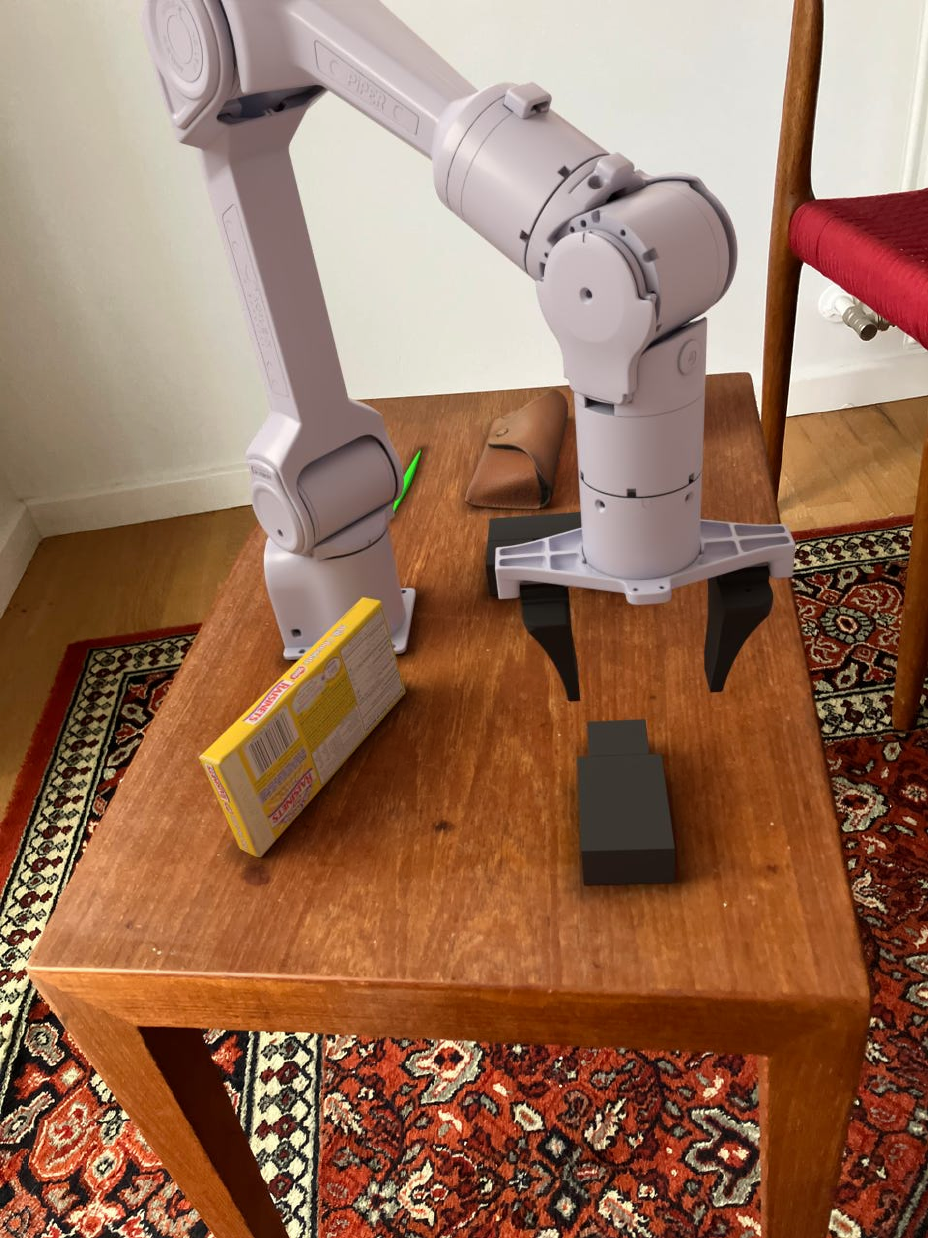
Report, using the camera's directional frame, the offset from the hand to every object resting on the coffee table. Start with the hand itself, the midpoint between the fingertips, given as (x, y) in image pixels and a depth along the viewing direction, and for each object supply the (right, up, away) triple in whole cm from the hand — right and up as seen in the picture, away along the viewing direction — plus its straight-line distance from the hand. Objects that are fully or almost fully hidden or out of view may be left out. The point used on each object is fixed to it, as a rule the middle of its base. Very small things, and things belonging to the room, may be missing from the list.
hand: (642, 685), depth 52 cm
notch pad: (-2, +8, +25) cm, 27 cm away
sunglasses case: (-4, +19, +41) cm, 45 cm away
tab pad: (0, -8, +4) cm, 9 cm away
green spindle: (-15, +17, +41) cm, 47 cm away
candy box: (-19, -6, +11) cm, 22 cm away
